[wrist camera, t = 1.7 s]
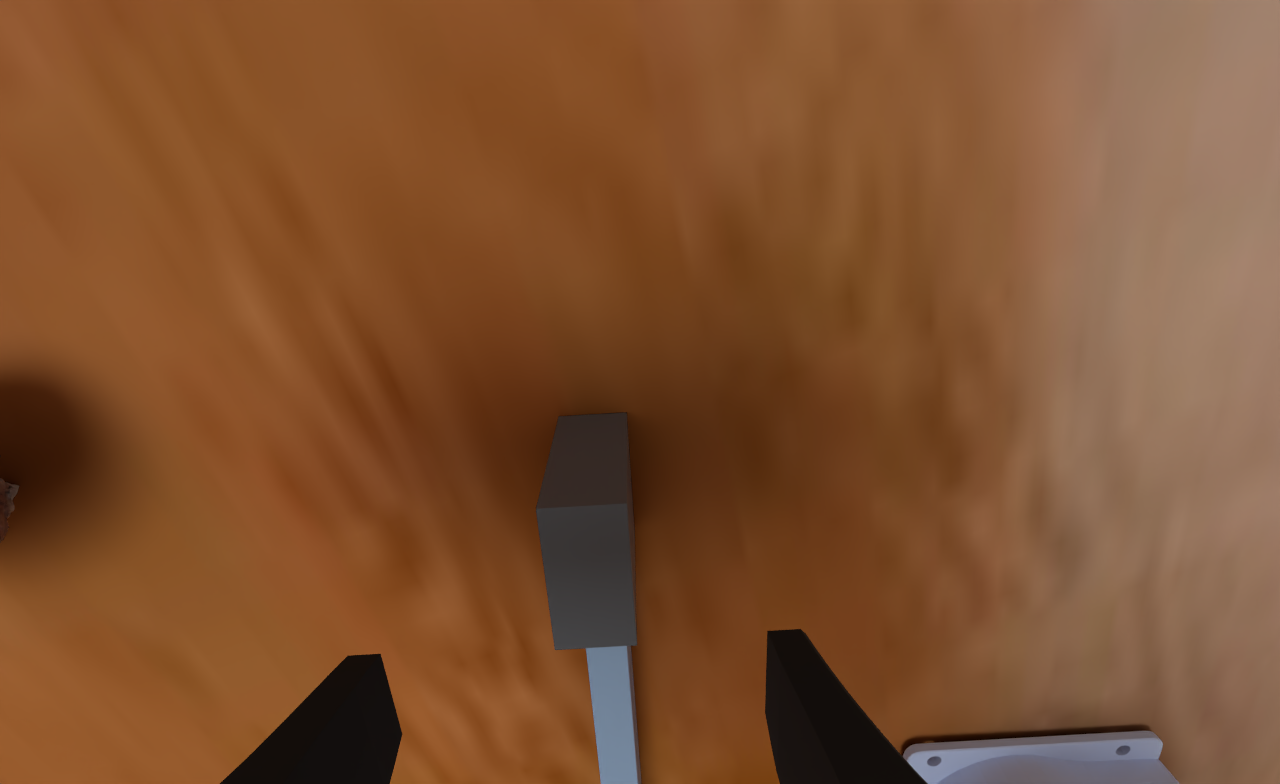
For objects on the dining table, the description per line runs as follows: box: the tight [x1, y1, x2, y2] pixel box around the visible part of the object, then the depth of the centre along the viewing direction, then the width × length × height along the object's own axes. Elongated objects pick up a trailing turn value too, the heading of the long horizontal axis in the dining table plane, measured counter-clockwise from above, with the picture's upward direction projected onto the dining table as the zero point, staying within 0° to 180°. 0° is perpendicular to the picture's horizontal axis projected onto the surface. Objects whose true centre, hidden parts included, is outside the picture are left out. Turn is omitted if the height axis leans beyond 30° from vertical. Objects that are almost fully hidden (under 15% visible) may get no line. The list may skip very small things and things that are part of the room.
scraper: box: [536, 412, 642, 784], centre depth 20 cm, size 2×20×5 cm, turn 3°
